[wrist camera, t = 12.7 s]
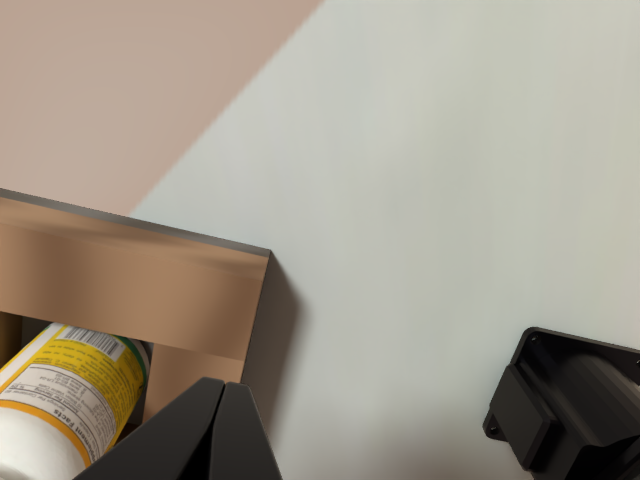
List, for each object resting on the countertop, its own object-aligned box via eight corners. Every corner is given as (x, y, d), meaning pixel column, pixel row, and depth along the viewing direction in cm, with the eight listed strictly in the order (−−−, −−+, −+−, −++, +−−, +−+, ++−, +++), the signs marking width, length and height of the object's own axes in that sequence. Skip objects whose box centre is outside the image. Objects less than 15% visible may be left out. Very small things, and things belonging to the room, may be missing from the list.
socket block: (271, 249, 21) (262, 281, 18) (218, 480, 26) (203, 540, 22) (-47, 177, 20) (-119, 196, 17) (-44, 432, 24) (-101, 487, 21)
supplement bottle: (126, 298, 21) (-22, 466, 12) (169, 394, 23) (70, 606, 13) (16, 325, 21) (-208, 509, 12) (67, 418, 23) (-97, 639, 14)
